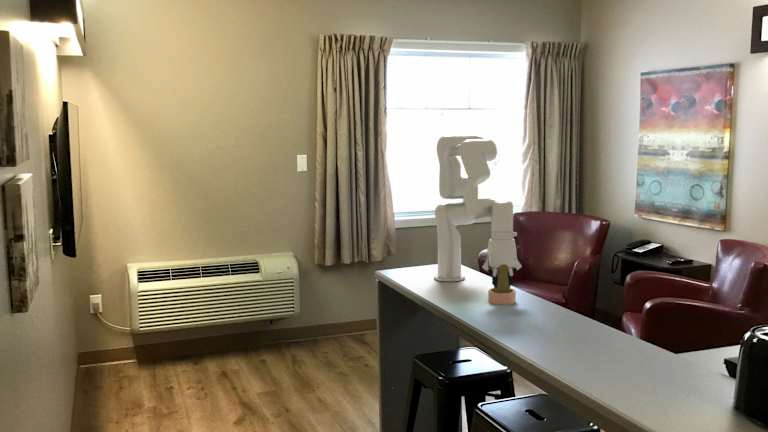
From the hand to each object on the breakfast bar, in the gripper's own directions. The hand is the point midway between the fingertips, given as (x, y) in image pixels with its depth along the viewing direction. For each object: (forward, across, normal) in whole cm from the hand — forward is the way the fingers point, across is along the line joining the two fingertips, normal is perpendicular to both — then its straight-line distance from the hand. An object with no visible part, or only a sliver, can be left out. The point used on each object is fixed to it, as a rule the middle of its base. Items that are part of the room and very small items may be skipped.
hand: (501, 286), depth 245 cm
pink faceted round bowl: (+6, 0, 0) cm, 6 cm away
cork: (+2, 0, 0) cm, 2 cm away
